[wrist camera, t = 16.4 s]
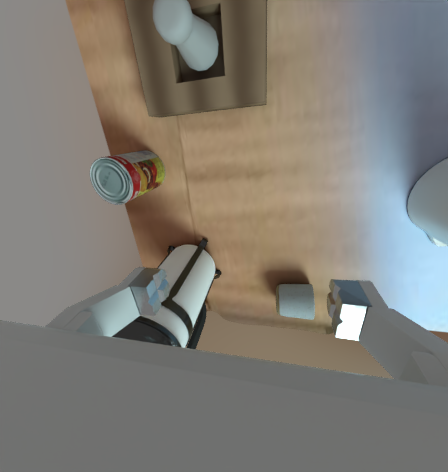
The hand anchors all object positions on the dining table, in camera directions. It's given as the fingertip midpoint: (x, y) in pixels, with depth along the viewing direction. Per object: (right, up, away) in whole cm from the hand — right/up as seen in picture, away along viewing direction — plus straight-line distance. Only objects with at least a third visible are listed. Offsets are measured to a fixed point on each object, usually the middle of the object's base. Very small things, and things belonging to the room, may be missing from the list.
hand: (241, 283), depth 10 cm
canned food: (-17, +17, +35) cm, 42 cm away
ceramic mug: (+17, -12, +42) cm, 47 cm away
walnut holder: (-4, +32, +24) cm, 40 cm away
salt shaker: (-4, +32, +23) cm, 39 cm away
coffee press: (-7, -5, +44) cm, 45 cm away
